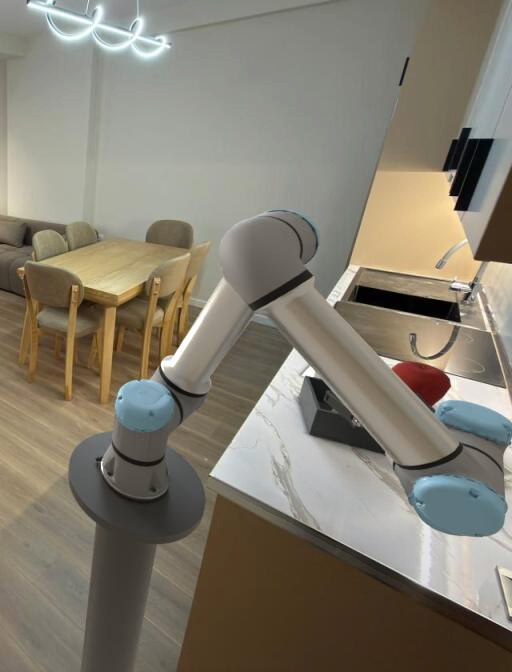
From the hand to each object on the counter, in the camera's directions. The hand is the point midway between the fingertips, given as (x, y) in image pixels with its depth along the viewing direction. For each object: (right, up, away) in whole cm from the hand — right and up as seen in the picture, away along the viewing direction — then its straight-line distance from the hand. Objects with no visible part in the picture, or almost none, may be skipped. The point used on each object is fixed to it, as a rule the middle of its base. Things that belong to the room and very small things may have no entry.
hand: (373, 389), depth 88 cm
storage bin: (+9, -14, +18) cm, 24 cm away
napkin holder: (+23, -7, +37) cm, 45 cm away
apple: (+35, -11, +26) cm, 45 cm away
